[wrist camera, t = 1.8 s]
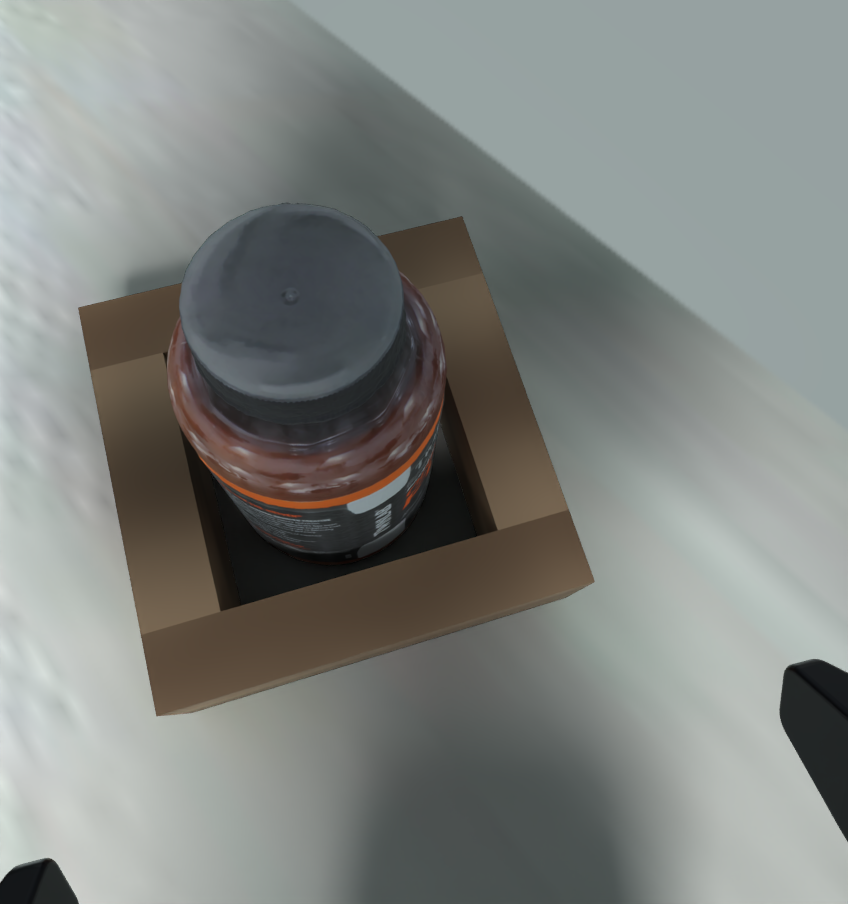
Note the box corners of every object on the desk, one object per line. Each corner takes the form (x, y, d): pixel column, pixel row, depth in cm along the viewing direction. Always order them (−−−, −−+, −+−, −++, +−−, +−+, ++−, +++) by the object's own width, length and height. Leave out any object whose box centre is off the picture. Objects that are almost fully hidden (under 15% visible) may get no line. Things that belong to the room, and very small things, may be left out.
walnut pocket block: (565, 597, 23) (594, 582, 20) (192, 712, 22) (156, 716, 19) (453, 276, 27) (462, 216, 23) (119, 358, 25) (78, 307, 22)
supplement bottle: (441, 556, 24) (485, 440, 13) (245, 580, 23) (119, 482, 12) (416, 376, 25) (436, 142, 15) (233, 396, 25) (114, 169, 14)
